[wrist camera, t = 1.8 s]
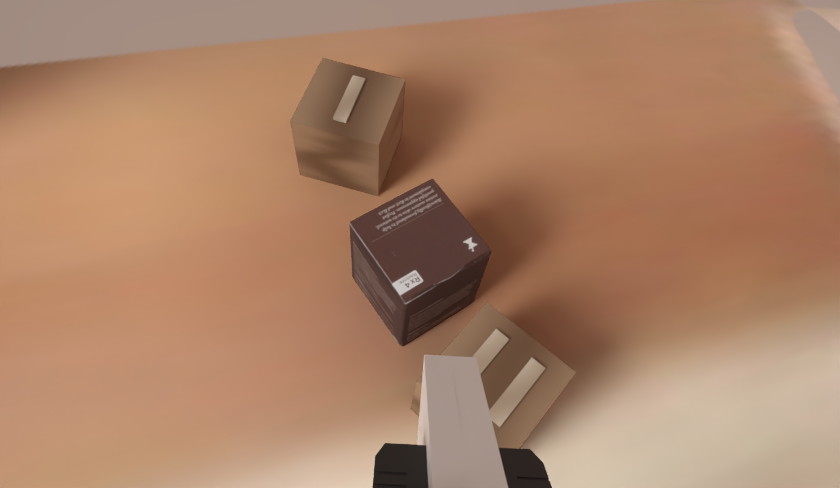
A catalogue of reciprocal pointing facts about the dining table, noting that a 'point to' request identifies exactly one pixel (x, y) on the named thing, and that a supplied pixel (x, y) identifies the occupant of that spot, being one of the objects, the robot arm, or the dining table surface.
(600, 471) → the dining table surface
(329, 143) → the marked block one
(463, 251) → the box
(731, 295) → the dining table surface
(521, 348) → the marked block two
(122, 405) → the dining table surface
